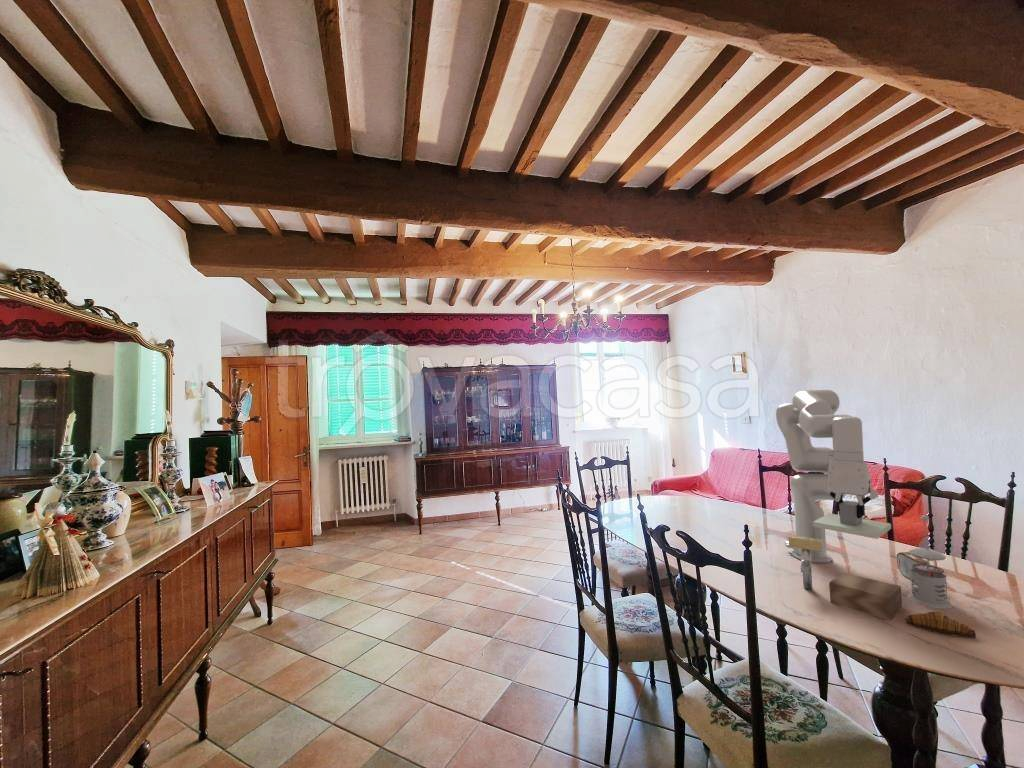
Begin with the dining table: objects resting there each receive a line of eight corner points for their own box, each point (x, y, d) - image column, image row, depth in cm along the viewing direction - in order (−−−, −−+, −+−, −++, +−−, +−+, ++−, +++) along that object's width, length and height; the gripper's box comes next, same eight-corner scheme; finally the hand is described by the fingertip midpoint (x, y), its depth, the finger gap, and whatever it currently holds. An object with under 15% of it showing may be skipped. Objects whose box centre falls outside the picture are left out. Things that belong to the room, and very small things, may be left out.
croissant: (906, 629, 117) (905, 610, 117) (903, 619, 122) (902, 600, 123) (980, 645, 109) (978, 624, 109) (973, 633, 114) (971, 613, 115)
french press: (903, 600, 133) (898, 515, 134) (913, 589, 140) (908, 509, 141) (949, 611, 125) (943, 522, 126) (957, 599, 132) (951, 515, 133)
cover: (813, 526, 140) (812, 502, 140) (829, 517, 148) (828, 495, 148) (877, 538, 127) (875, 512, 127) (891, 528, 135) (889, 503, 135)
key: (791, 583, 147) (789, 534, 147) (825, 589, 141) (822, 539, 142) (788, 594, 138) (786, 543, 139) (823, 601, 133) (821, 548, 133)
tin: (938, 591, 138) (936, 564, 139) (926, 591, 139) (924, 563, 139) (905, 573, 153) (904, 548, 153) (895, 572, 154) (893, 548, 154)
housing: (830, 602, 133) (829, 582, 133) (844, 591, 140) (843, 572, 140) (890, 620, 121) (889, 597, 122) (902, 607, 129) (900, 586, 129)
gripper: (812, 455, 142) (815, 512, 142) (878, 460, 129) (881, 524, 129) (821, 452, 147) (824, 508, 146) (885, 457, 133) (888, 519, 133)
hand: (850, 515), depth 138 cm, fingers closed on cover, 4 cm apart
